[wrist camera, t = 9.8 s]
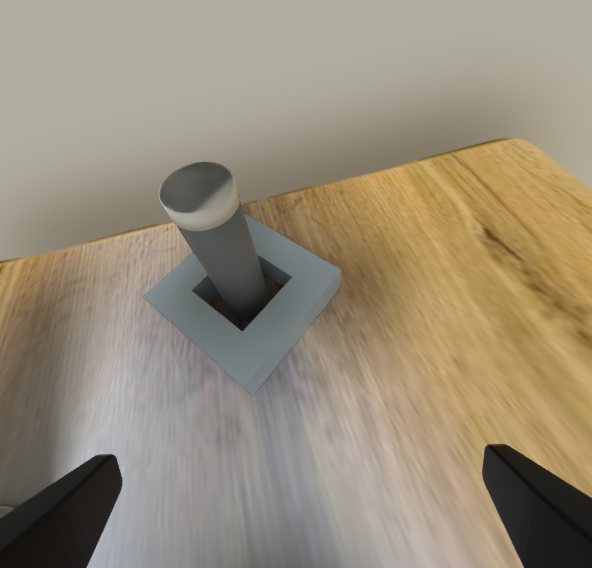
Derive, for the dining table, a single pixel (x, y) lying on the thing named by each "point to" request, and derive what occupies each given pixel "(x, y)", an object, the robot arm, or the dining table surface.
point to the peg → (217, 233)
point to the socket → (268, 323)
